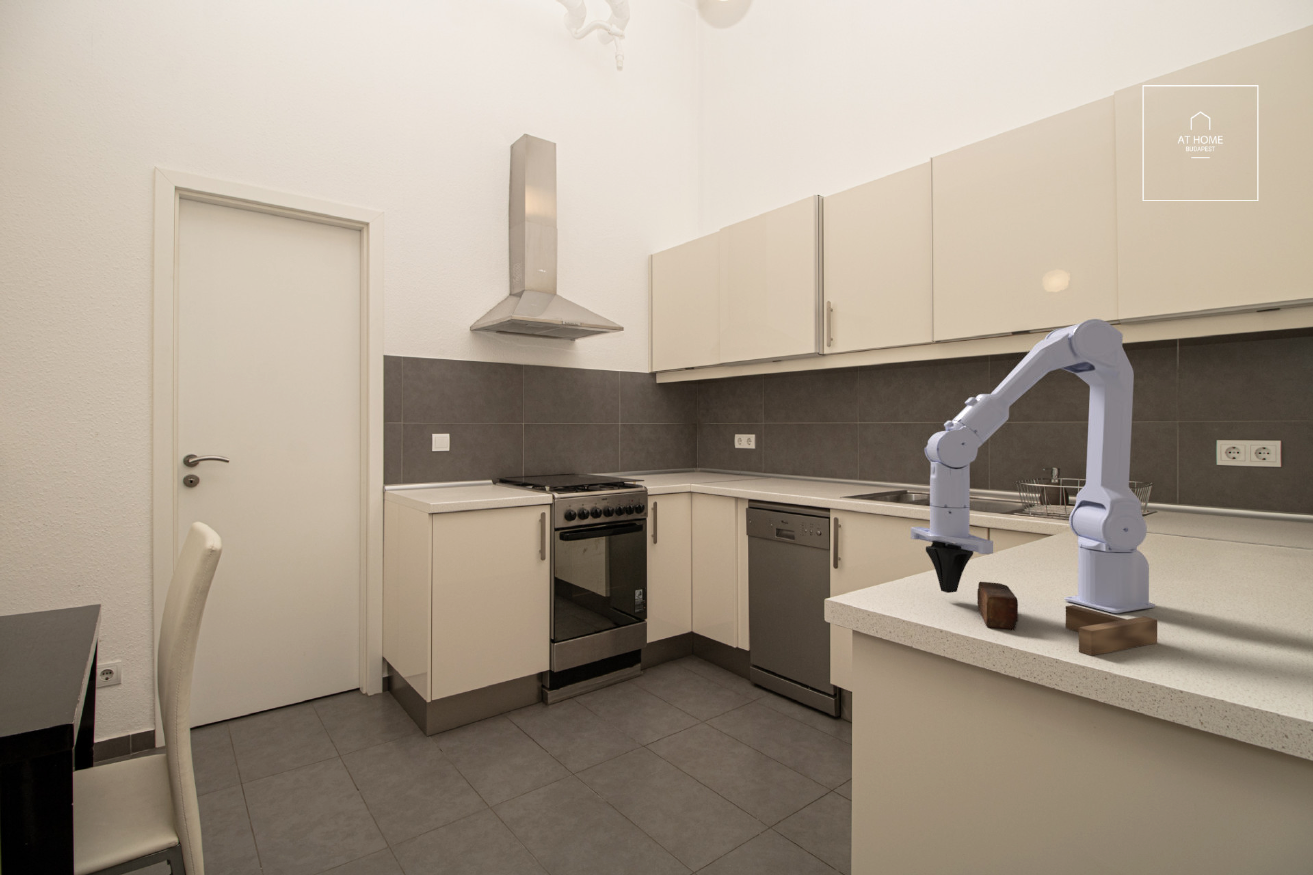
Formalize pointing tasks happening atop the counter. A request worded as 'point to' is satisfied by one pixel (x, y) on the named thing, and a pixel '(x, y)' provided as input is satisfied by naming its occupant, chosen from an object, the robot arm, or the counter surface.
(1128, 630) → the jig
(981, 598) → the brick
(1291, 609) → the counter surface
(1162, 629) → the counter surface
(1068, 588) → the counter surface
